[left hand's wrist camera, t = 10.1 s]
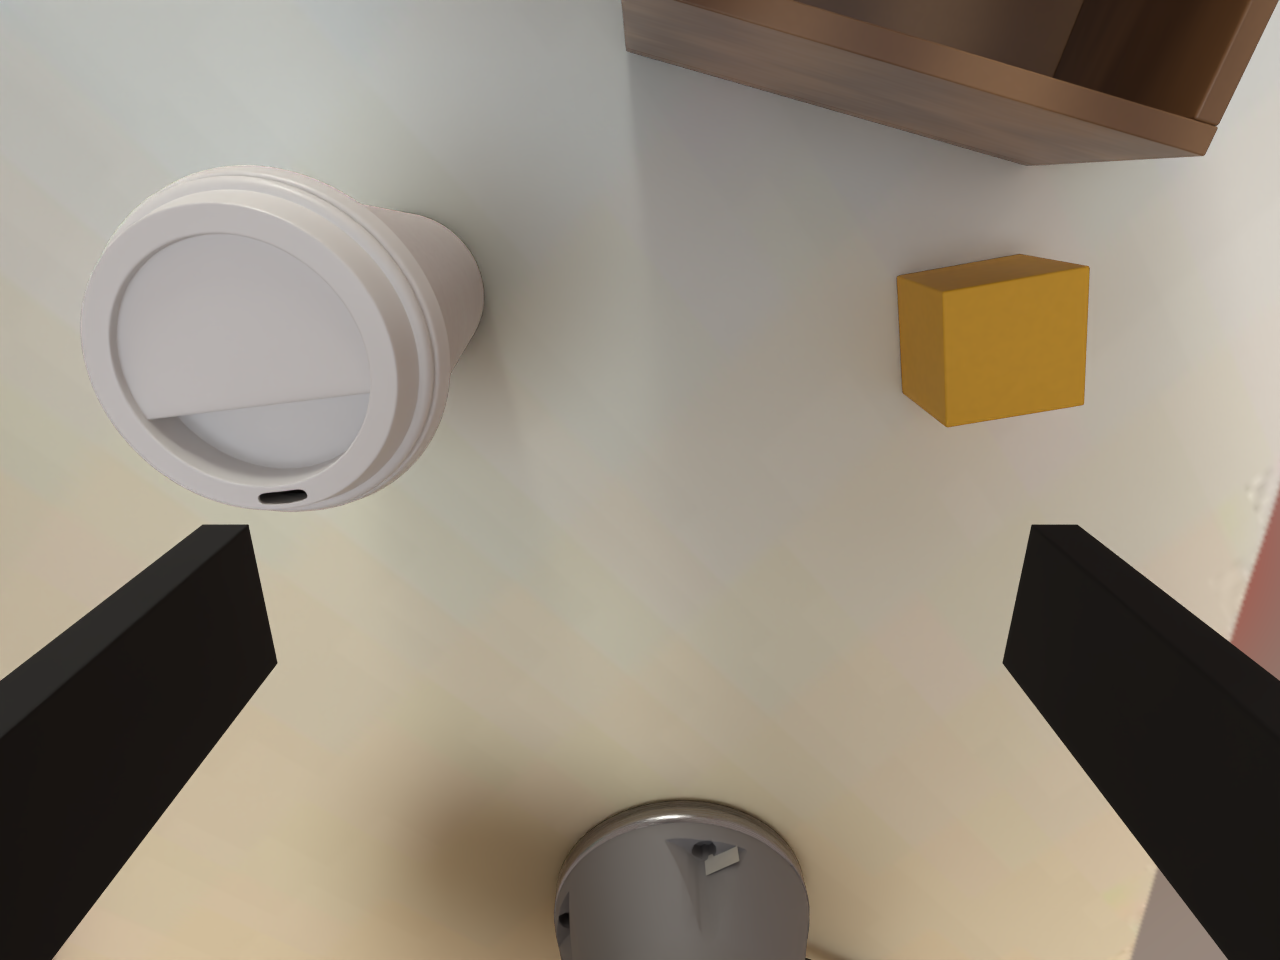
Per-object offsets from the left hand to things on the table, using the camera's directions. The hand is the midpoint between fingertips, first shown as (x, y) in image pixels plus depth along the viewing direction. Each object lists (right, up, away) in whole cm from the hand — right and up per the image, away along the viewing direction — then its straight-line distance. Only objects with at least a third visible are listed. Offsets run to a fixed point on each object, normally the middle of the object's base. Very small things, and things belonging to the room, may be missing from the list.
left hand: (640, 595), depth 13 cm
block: (+14, +9, +21) cm, 27 cm away
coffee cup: (-10, +10, +20) cm, 25 cm away
